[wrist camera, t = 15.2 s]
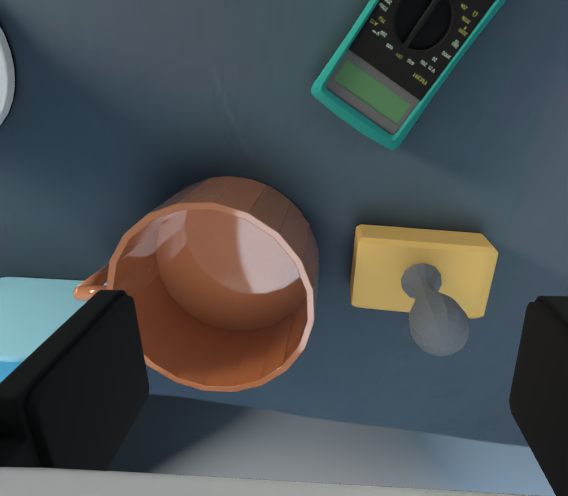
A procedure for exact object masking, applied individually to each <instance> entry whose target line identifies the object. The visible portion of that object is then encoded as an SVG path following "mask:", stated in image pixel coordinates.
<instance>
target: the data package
mask: <svg viewBox="0 0 568 496" xmlns="http://www.w3.org/2000/svg"><path fill="white" fill-rule="evenodd" d="M82 282H84V281H80V280H61V279H42V278H23V277H3V278H0V383H1V382H2V381H3V380H4V379H5V378H6V377H7V376H8V375H9V374H10V373H11V372H12V371H13V370H14V369H15V368H17V367H18V366H19V365H20V364H21V363H22V362H23V361H24V360H25V359H26V358H27V357H28V356H29V355H30V354H31V353H32V352H34V351H35V350H36V349H37V348H38V347H39V346H40V345H41V344H42V343H43V342H44V341H45V340H46V339H47V338H48V337H50V336H51V335H52V334H53V333H54V332H55V331H56V330H57V329H58V328H59V327H60V326H61V325H62V324H63V323H64V322H66V321H67V320H68V319H69V318H70V317H71V316H72V315H73V314H74V313H75V312H76V311H77V310H78V309H79V308H80V307H82V306H83V305H84V304H85V303H86V302H87V301H78V300H76V299H75V298H74V296H73V291H74V289H75V288H76V287H77V286H79V285H80V284H81V283H82ZM103 286H107V283H105V284H104V285H103Z"/></svg>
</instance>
